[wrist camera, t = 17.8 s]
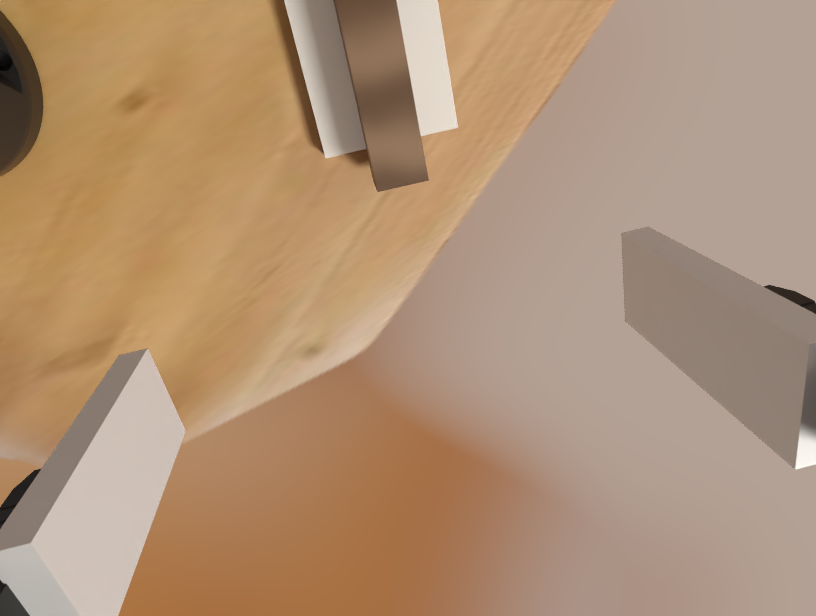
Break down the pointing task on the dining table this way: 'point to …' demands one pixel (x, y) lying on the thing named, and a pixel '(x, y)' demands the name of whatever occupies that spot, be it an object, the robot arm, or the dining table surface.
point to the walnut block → (382, 91)
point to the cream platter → (332, 79)
